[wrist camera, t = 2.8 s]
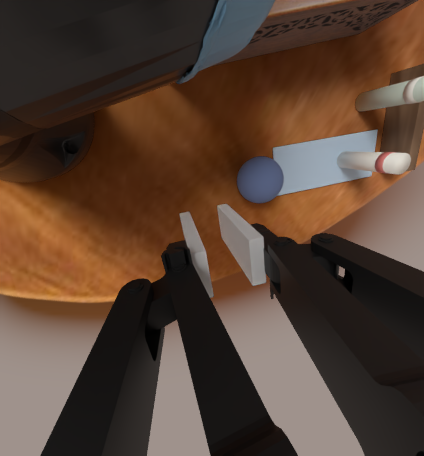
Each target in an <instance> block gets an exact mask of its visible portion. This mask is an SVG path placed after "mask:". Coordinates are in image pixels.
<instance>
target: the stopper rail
mask: <svg viewBox="0 0 424 456" xmlns="http://www.w3.org/2000/svg"><path fill="white" fill-rule="evenodd" d="M422 76H424V64H421V65H418V66H415V67H412V68H408V69H405V70H402V71H399V72H396V73H392V74H391V81H390V85H394V84H398V83H401V82H405V81H409V80H412V79H415V78H419V77H422ZM423 129H424V101H422V102H418V103H412V104H403V105H398V106H392V107H387V108H386V115H385V122H384V129H383V136H382V142H381V149H380V152H396V153H408V154H409V155H410V157H411V163H410V166H409V168H408V169H407V170H406V171H410V170H415V167H416V162H417V157H418V153H419V148H420V143H421V139H422V134H423Z"/></svg>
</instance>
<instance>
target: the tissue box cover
mask: <svg viewBox="0 0 424 456" xmlns="http://www.w3.org/2000/svg"><path fill="white" fill-rule="evenodd" d="M416 1H418V0H275V2H274V4H273V6H272V8H271V10H270V12H269V14H268V16H267V17H266V19H265V21H264V22H263V23H262V24H261V26H260V27H259V28H258V29H257V30H256V31H255V33H254V35H253V37H252V39H251V40H250V42H249V43H248V44H247V46H246V47H244V48H243V49H242V50H241V51H240V52H238V53H237V54H236V55H234V56H232V57H230V58H228V59H226V60H224V61H221V62H219V63H217V64H215V65H219V64H223V63H228V62H232V61H237V60H242V59H246V58H251V57H255V56H260V55H264V54H269V53H274V52H278V51H283V50H287V49H292V48H296V47H301V46H306V45H310V44H315V43H319V42H324V41H328V40H333V39H337V38H342V37H347V36H351V35H356V34H360V33H361V32H363V31H365V30H367V29H368V28H370V27H372V26H374V25H375V24H377V23H379V22H381V21H383V20H384V19H386V18H388V17H390V16H391V15H393V14H395V13H397V12H398V11H400V10H402V9H404V8H406V7H407V6H409V5H411V4H413V3H414V2H416ZM212 66H214V65H212Z"/></svg>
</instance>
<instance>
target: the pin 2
mask: <svg viewBox="0 0 424 456" xmlns="http://www.w3.org/2000/svg"><path fill="white" fill-rule="evenodd" d="M410 163H411V157H410V155H409V154H408V153H396V152H352V151H344V152H342V153H340V154H339V156H338V158H337V165H338V166H339V167H340V168H348V169H357V170H365V171H373V172H379V173H386V174H389V173H390V174H402V173H404V172H405V171H406V170H407V169H408V168H409V166H410Z"/></svg>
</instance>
